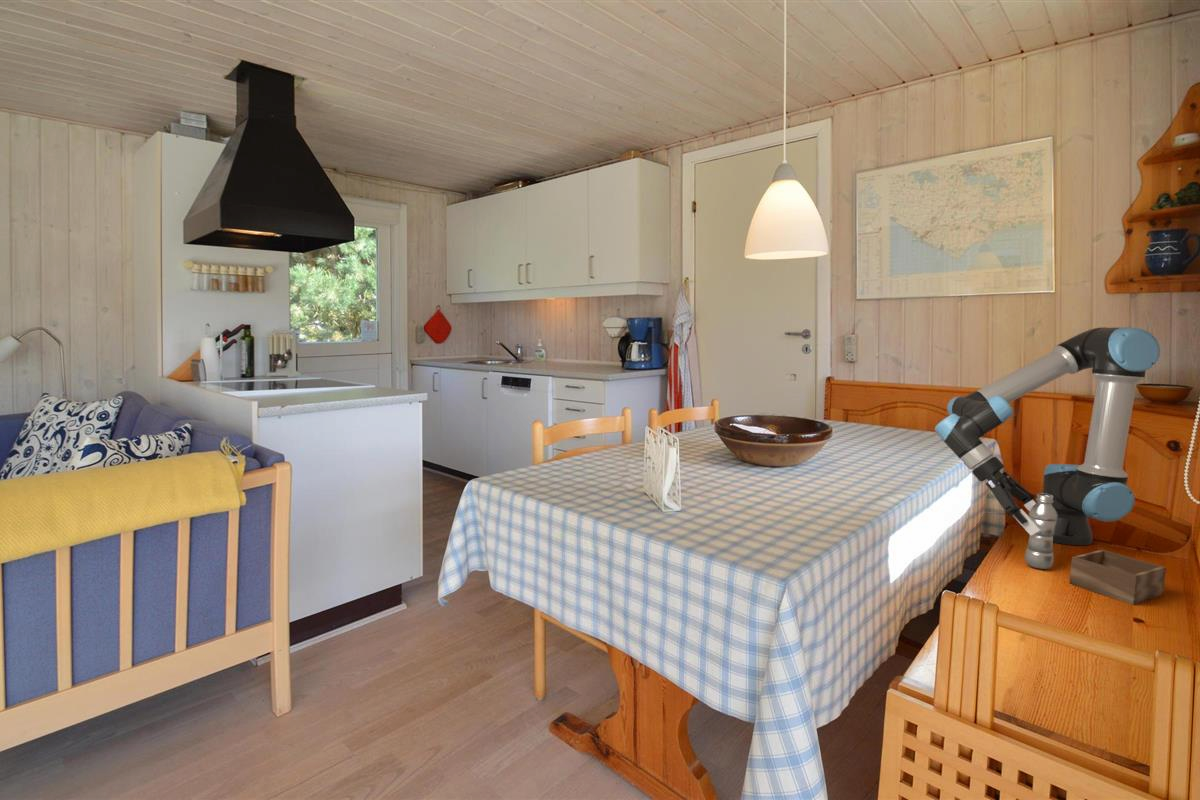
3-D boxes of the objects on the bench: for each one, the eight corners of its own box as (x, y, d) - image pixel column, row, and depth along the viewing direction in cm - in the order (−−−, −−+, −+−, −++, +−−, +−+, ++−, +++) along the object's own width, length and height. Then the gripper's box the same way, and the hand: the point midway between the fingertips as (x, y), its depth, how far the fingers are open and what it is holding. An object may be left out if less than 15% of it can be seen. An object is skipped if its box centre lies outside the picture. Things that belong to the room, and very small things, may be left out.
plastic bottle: (1021, 567, 172) (1028, 495, 170) (1026, 560, 177) (1033, 490, 175) (1050, 573, 168) (1057, 499, 166) (1054, 567, 173) (1061, 494, 171)
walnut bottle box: (1099, 575, 167) (1102, 549, 167) (1162, 595, 155) (1166, 567, 155) (1069, 583, 162) (1072, 557, 161) (1133, 605, 149) (1136, 576, 149)
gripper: (983, 464, 191) (1038, 524, 182) (958, 477, 173) (1017, 545, 164) (1005, 449, 187) (1062, 510, 178) (982, 461, 169) (1044, 530, 160)
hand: (1041, 527), depth 171 cm, fingers open, 13 cm apart
